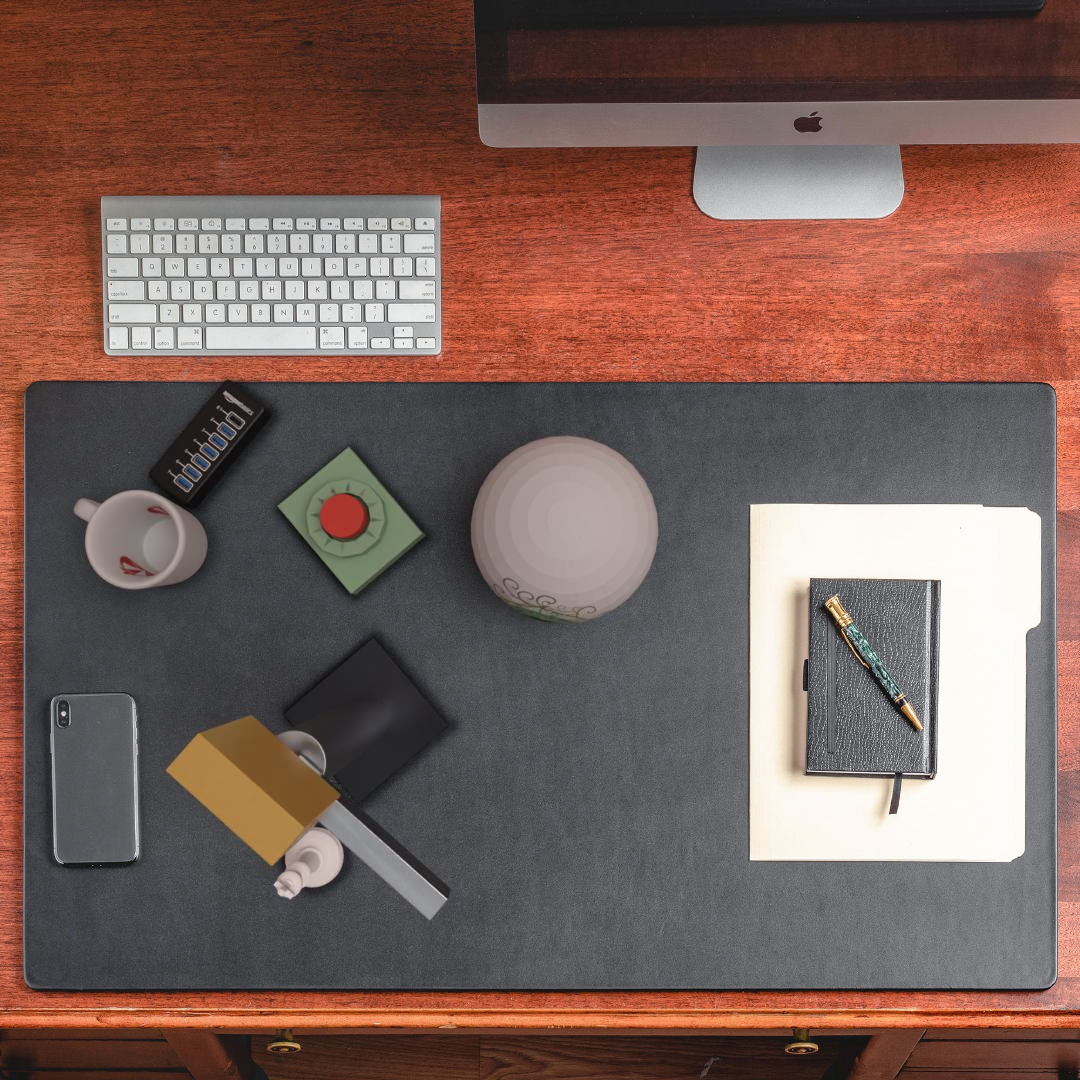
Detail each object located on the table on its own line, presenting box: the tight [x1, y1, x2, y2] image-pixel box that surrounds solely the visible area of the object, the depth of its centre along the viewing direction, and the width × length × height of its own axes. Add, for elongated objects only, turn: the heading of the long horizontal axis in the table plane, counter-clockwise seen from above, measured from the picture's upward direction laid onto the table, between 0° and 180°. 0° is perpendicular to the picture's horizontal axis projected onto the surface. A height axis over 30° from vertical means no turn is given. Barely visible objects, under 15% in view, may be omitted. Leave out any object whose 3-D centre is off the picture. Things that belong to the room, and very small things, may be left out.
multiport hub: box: [148, 379, 273, 508], centre depth 78 cm, size 4×11×2 cm, turn 142°
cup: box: [73, 489, 209, 590], centre depth 74 cm, size 11×8×8 cm
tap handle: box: [165, 714, 452, 922], centre depth 48 cm, size 16×2×10 cm, turn 49°
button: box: [320, 494, 367, 539], centre depth 74 cm, size 4×4×2 cm
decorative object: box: [470, 435, 659, 625], centre depth 71 cm, size 15×15×15 cm
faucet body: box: [275, 636, 450, 805], centre depth 65 cm, size 10×10×24 cm
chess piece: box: [273, 826, 344, 900], centre depth 71 cm, size 5×5×10 cm
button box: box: [277, 446, 426, 595], centre depth 76 cm, size 10×8×4 cm
